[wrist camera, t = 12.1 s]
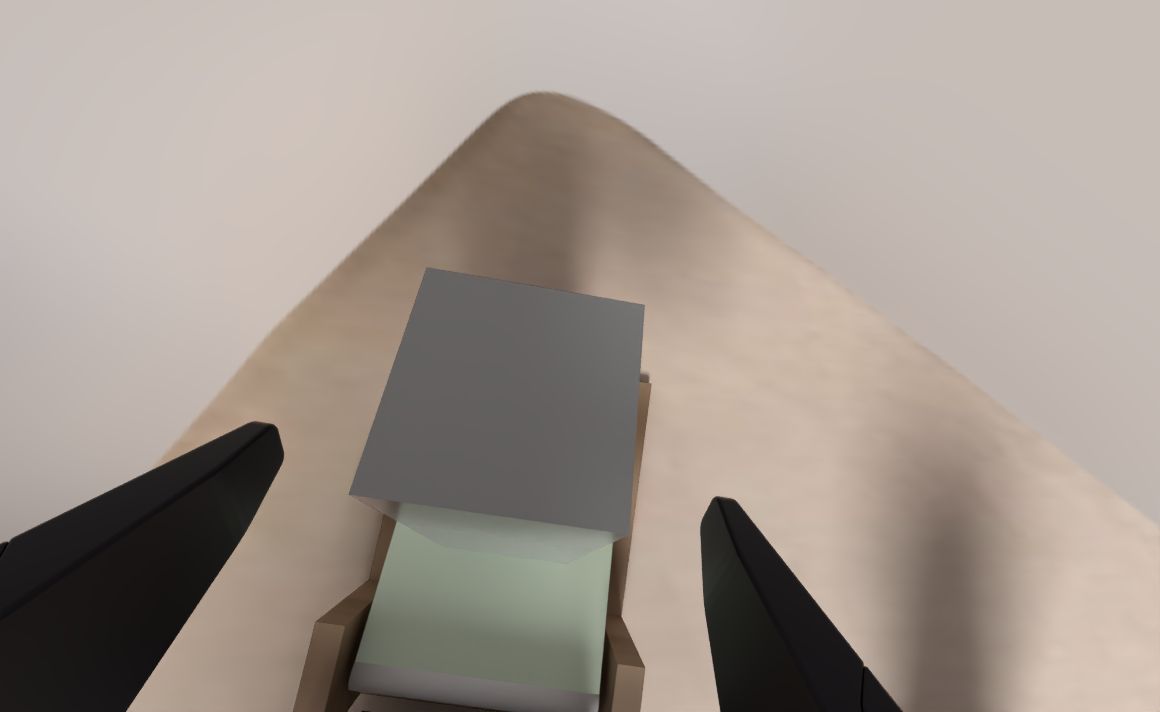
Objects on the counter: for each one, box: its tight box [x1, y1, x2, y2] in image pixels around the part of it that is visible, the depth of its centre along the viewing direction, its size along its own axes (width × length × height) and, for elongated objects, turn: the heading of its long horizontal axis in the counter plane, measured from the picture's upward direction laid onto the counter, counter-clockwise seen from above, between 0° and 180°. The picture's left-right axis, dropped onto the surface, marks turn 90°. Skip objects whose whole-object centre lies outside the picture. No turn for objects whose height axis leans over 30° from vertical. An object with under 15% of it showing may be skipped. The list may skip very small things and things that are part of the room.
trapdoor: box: [348, 521, 613, 712], centre depth 19 cm, size 16×9×6 cm, turn 172°
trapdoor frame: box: [293, 382, 651, 712], centre depth 19 cm, size 16×12×6 cm
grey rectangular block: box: [349, 268, 645, 564], centre depth 15 cm, size 5×5×12 cm
